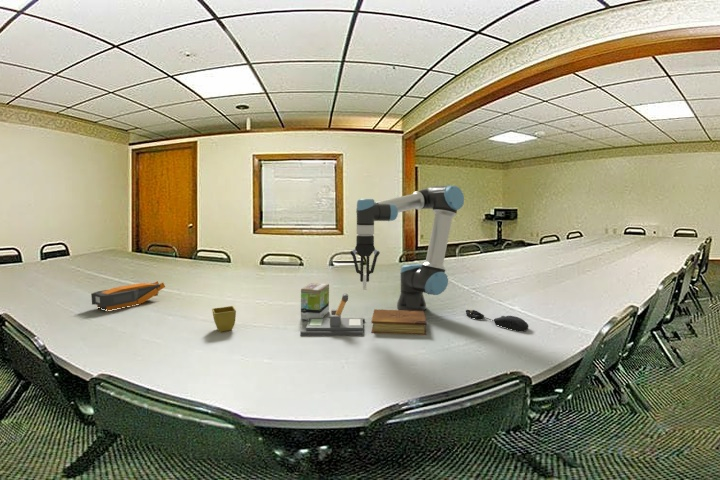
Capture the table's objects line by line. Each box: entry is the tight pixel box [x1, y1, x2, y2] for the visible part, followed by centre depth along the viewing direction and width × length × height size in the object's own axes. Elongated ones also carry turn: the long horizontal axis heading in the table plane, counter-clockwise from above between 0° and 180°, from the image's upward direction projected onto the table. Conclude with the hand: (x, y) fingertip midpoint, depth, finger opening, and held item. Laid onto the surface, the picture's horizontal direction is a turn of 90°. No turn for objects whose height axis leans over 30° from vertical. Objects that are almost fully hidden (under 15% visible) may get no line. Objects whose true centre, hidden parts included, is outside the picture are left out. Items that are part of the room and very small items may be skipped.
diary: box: [370, 308, 427, 336], centre depth 167 cm, size 23×19×6 cm
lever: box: [335, 293, 349, 317], centre depth 164 cm, size 3×6×13 cm, turn 2°
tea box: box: [300, 282, 330, 321], centre depth 183 cm, size 15×10×15 cm
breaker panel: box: [305, 308, 364, 332], centre depth 165 cm, size 24×14×7 cm, turn 90°
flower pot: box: [211, 305, 237, 333], centre depth 163 cm, size 9×9×9 cm
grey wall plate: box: [299, 317, 366, 337], centre depth 165 cm, size 27×19×1 cm
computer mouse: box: [465, 309, 529, 332], centre depth 174 cm, size 9×32×6 cm, turn 37°
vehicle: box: [90, 280, 166, 312], centre depth 204 cm, size 14×34×10 cm, turn 147°
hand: (364, 289), depth 164 cm, fingers closed
